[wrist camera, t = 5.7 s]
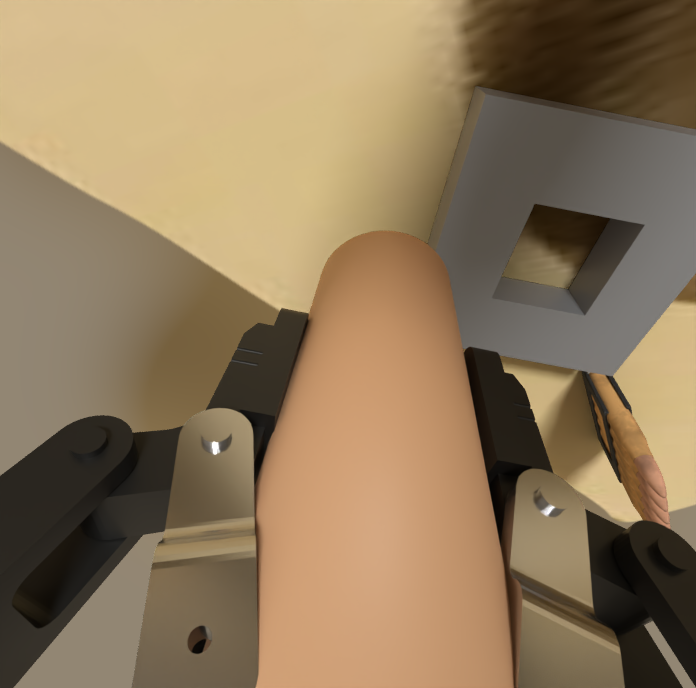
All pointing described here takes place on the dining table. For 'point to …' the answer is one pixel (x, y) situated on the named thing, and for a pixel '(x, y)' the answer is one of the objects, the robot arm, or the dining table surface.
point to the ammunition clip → (627, 448)
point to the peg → (379, 492)
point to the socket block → (576, 195)
